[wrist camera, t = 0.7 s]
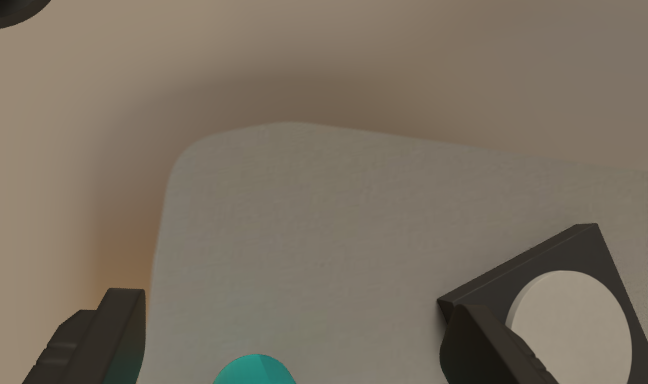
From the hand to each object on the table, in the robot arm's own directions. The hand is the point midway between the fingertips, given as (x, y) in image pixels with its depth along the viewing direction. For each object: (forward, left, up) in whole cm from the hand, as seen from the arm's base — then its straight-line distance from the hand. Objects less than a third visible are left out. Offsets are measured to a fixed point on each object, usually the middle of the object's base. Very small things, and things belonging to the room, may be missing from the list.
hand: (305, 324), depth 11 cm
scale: (+16, +21, -20) cm, 33 cm away
